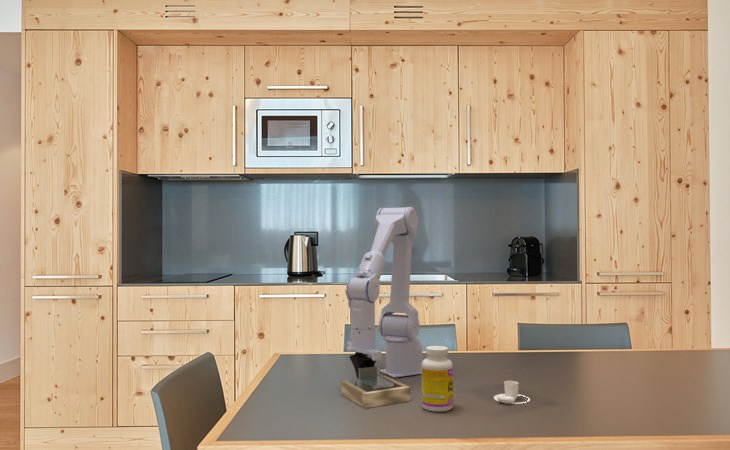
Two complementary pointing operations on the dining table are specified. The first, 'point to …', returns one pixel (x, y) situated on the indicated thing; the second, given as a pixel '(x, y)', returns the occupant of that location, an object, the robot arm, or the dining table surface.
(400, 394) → the dock bay
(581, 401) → the dining table surface
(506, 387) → the teacup and saucer
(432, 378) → the supplement bottle
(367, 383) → the grey stepped block
